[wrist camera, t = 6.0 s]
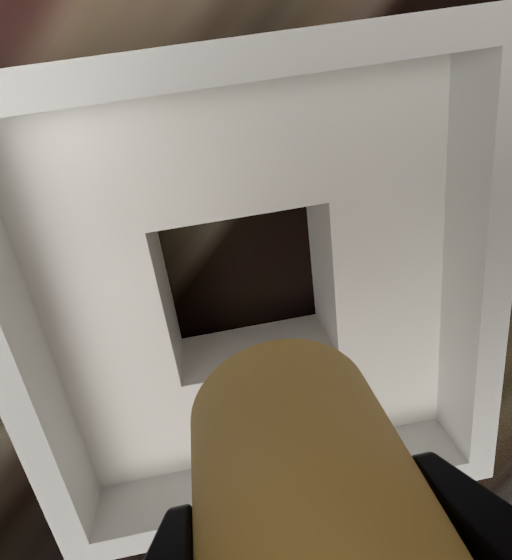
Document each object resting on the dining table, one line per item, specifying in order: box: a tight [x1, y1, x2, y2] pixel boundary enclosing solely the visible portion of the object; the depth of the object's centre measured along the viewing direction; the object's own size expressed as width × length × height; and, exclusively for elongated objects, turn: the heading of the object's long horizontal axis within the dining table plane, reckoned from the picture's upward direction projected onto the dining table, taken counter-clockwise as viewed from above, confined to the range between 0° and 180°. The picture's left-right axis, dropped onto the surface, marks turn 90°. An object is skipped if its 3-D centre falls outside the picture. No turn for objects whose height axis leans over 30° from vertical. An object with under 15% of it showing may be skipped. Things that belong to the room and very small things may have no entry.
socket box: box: [0, 0, 512, 560], centre depth 17 cm, size 16×16×6 cm
